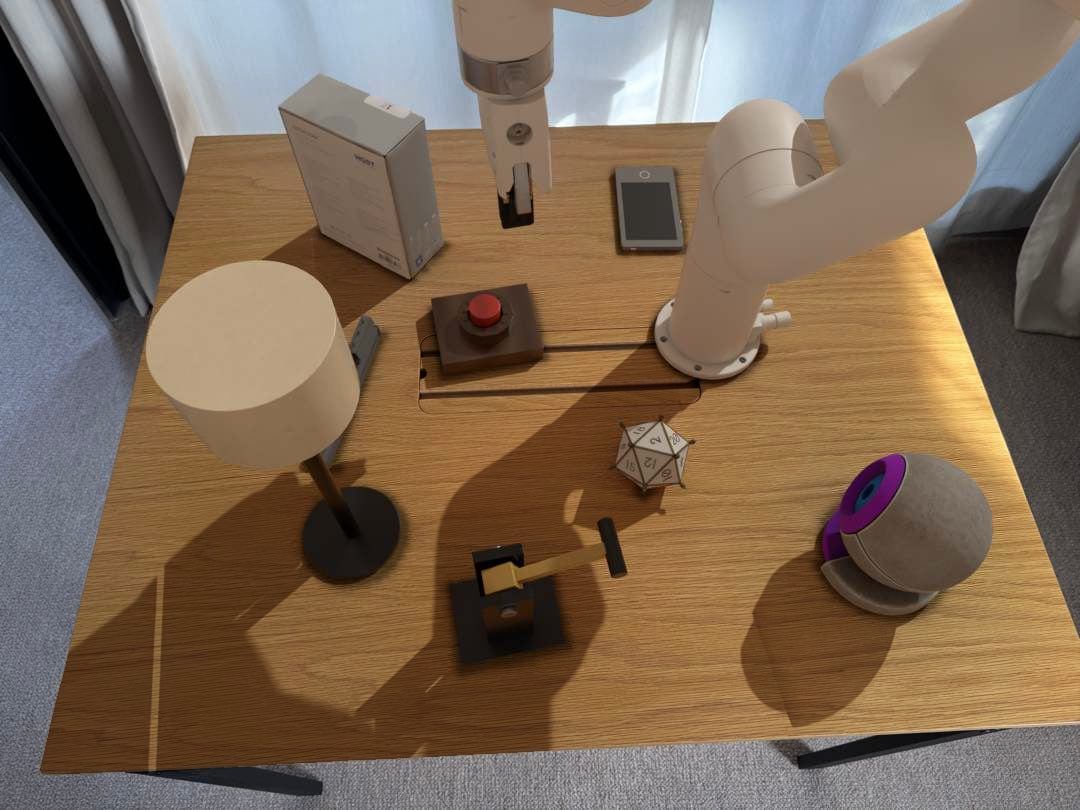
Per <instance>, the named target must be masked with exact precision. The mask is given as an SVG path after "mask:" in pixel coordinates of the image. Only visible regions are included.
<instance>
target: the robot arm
mask: <svg viewBox="0 0 1080 810" xmlns="http://www.w3.org/2000/svg"><path fill="white" fill-rule="evenodd" d="M652 2H653V0H451V7H452V16H453V25H454V33H455V39H456V40H455V42H456V48H457V57H458V66H459V73H460V78H461V80H462V82H463V84H464V86H465V87H466V88H468V90H469V91H471V92H472V93H474V94H476V97H477V106H478V113H479V120H480V126H481V130H482V136H483V140H484V145H485V150H486V154H487V158H488V162H489V165H490V169H491V172H492V175H493V179H494V183H495V186H496V195H497V204H498V216H499V219H500V223H501V228H502V229H503V230H509V229H515V228H522V227H528V226H532V225H534V223H535V210H534V207H535V206H534V192H533V185H534V187H535V188H536V189H537V191H538V193H539V194H540V195H543V194H549V193H550V192H551V190H552V189H553V174H552V159H551V156H552V155H551V139H550V125H549V114H548V104H547V98H546V97H547V96H546V91H545V87H546V86H548V84H549V83H550V82H551V80H552V78H553V76H554V73H555V72H554V71H555V67H554V66H555V64H554V63H555V50H554V49H555V48H554V47H555V46H554V45H555V43H554V42H555V41H554V40H555V38H554V9H557V10H563V11H567V12H572V13H577V14H581V15H587V16H592V17H599V18H600V17H602V18H603V17H604V18H617V17H619V18H620V17H626V16H630V15H631V14H635V13H637V12H639V11H641V10H643V9H645V8H646V7H647V6H648V5H650V4H651V3H652ZM1079 38H1080V0H962V1H961V2H959V3H958V4H956V5H954V6H953V7H951V8H949V9H947V10H945V11H943V12H942V13H940V14H938V15H936V16H935V17H932V18H931V19H928V20H927V21H925V22H923V23H921V24H920V25H917V26H915V27H914V28H912V29H910V30H909V31H907V32H905V33H903V34H901V35H898V36H897V37H895V38H894V39H891V40H890V41H888V42H887V43H885V44H883V45H880V46H879V47H877V48H875V49H874V50H872V51H869V52H868V53H867V54H865V55H863V56H861V57H859V58H858V59H856V60H854V61H853V62H851V63H849V64H848V65H847V66H845V67H844V68H842V69H841V70H840V71H839V72H838V73H837V74H836V75H835V76H834V77H833V78H832V79H831V81H830V82H829V83H828V85H827V87H826V90H825V92H824V96H823V104H822V108H823V117H824V121H825V125H826V126H825V127H826V130H827V133H828V138H829V140H830V143H831V147H832V151H833V154H834V157H835V160H836V163H837V167H836V168H835V169H833V170H831V171H830V172H827V173H826V174H824V169H823V166H822V163H821V160H820V156H819V153H818V150H817V147H816V142H815V141H814V138H813V135H812V133H811V130H810V128H809V127H808V125H807V122H806V121H805V120H804V118H803V117H802V115H801V114H800V113H799V112H798V111H797V110H796V109H795V108H794V107H792V106H791V105H790V104H788V103H785V102H783V101H781V100H778V99H773V98H755V99H750V100H748V101H747V100H746V101H745V102H742V103H740V104H739V105H736V106H735V107H733V108H732V109H730V110H729V111H728V112H726V114H724V115H723V117H722V118H721V119H720V120H719V121H718V122H717V123H716V125H715V126H714V128H713V130H712V131H711V133H710V136H709V137H708V139H707V142H706V145H705V149H704V152H703V156H702V157H703V158H702V163H701V171H700V180H699V187H698V196H697V197H698V198H697V204H696V210H695V211H696V212H695V214H694V220H693V224H692V228H691V233H690V235H689V239H688V244H687V249H686V252H685V256H684V260H683V264H682V268H681V272H680V276H679V279H678V285H677V288H676V292H675V296H674V297H673V298H672V299H671V300H670V301H668V302H666V304H665V305H664V306H663V307H662V308H661V310H660V311H659V312H658V314H657V318H656V321H655V325H654V333H653V334H654V341H655V345H656V347H657V350H658V351H659V353H660V355H661V356H662V357H663V359H664V360H665V361H666V362H667V363H668V364H669V365H670V366H672V367H673V368H674V369H676V370H678V371H680V372H681V373H682V374H685V375H687V376H690V377H693V378H696V379H701V380H710V381H711V380H712V381H713V380H714V381H715V380H723V379H727V378H732V377H734V376H736V375H738V374H740V373H743V371H745V370H746V369H747V368H748V367H749V366H750V365H751V364H752V362H753V361H754V359H755V357H756V356H757V354H758V351H759V349H760V344H761V335H762V334H766V333H767V330H768V331H769V330H773V329H774V330H778V329H782V328H783V329H784V328H789V327H791V325H792V315H791V313H790V312H789V310H784V311H778V312H772V313H771V314H764V313H763V312H767V311H772V310H773V309H774V302H773V299H772V298H766V296H767V294H768V292H769V289H770V286H771V285H778V284H785V283H788V282H789V283H790V282H792V281H796V280H800V279H802V278H805V277H808V276H810V275H813V274H816V273H818V272H821V271H823V270H826V269H828V268H830V267H833V266H835V265H839V264H841V263H843V262H845V261H847V260H850V259H852V258H855V257H858V256H860V255H862V254H864V253H867V252H869V251H872V250H874V249H876V248H879V247H881V246H884V245H886V244H889V243H891V242H893V241H896V240H898V239H901V238H903V237H906V236H909V235H910V234H912V233H914V232H916V231H918V230H920V229H923V228H925V227H927V226H928V225H931V224H932V223H934V222H936V221H937V220H938V219H940V218H942V217H943V216H944V215H946V214H947V213H948V212H949V211H951V209H952V208H954V207H955V206H956V205H957V204H958V203H959V202H960V201H961V200H962V199H963V198H964V196H965V195H966V194H967V192H968V191H969V189H970V188H971V186H972V184H973V182H974V179H975V176H976V172H977V168H978V155H977V149H976V148H977V147H976V145H975V141H974V139H973V137H972V134H971V132H970V129H969V127H968V125H967V122H968V121H970V120H971V119H973V118H974V117H976V116H978V115H980V114H982V113H984V112H986V111H988V110H990V109H992V108H994V107H995V106H998V105H1000V104H1002V103H1003V102H1005V101H1007V100H1009V99H1011V98H1013V97H1015V96H1016V95H1019V94H1021V93H1022V92H1024V91H1026V90H1028V89H1029V88H1030V87H1032V86H1033V85H1035V84H1037V83H1038V82H1039V81H1040V80H1042V79H1043V78H1044V77H1046V76H1047V75H1048V74H1049V73H1051V71H1053V69H1054V68H1055V67H1056V66H1057V65H1058V64H1059V63H1060V62H1061V61H1062V60H1063V59H1064V57H1066V55H1067V54H1068V52H1069V51H1070V50H1071V48H1073V46H1074V45H1075V43H1076V42H1077V41H1078V39H1079Z"/></svg>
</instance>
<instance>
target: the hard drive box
mask: <svg viewBox="0 0 1080 810" xmlns="http://www.w3.org/2000/svg"><path fill="white" fill-rule="evenodd" d="M277 108H278V109H277V110H278V112H279V115H280V117H281V121H282V124H283V127H284V129H285V132H286V135H287V138H288V141H289V144H290V147H291V151H292V154H293V155H294V158H295V161H296V164H297V168H298V170H299V173H300V176H301V179H302V182H303V186H304V187H305V191H306V194H307V196H308V200H309V202H310V206H311V208H312V211H313V214H314V218H315V219H316V223H317V226H318V228H319V231H320V233H321V234H323V235H325V236H327V237H328V238H330V239H331V240H333V241H335V242H337V243H339V244H341V245H342V246H344V247H347V248H349V249H351V250H352V251H355V252H357V253H358V254H360V255H362V256H363V257H366V258H368V259H369V260H372V261H373V262H375V263H377V264H379V265H381V266H382V267H384V268H386V269H387V270H389V271H391V272H394V273H395V274H397V275H399V276H402V277H403V278H405V279H407V280H411V279H413V278H414V277H415V276H416V275H417V274H418V273H419V272H420V271H421V270H422V269H423V268H424V267H425V265H426V264H427V263H428V262H429V261H430V260H431V259H432V258H433V257H434V256H435V255H436V254H437V253H438V252H439V251H440V249H441V248H442V247H443V246H444V245H445V242H444V235H443V229H442V223H441V217H440V216H441V215H440V210H439V204H438V203H439V202H438V198H437V197H438V196H437V191H436V184H435V179H434V172H433V166H432V159H431V152H430V146H429V140H428V133H427V126H426V117H424V116H423V115H419V114H417V113H415V112H413V111H411V110H408V109H406V108H403V107H402V106H399V105H397V104H394V103H392V102H389V101H388V100H386V99H383V98H380V97H378V96H376V95H374V94H371V93H369V92H366V91H364V90H362V89H359V88H357V87H355V86H352V85H350V84H348V83H345V82H343V81H340V80H338V79H336V78H334V77H331V76H329V75H328V74H327V75H326V74H325V73H322V72H319V73H318V74H316V75H315V76H314V77H313V78H311V79H310V80H309V81H308V82H306V83H305V84H304V85H302V87H300V88H299V89H298V90H297V91H295V92H294V93H292V94H291V95H290V96H289V97H288V98H286V99H285V100H284V101H283V102H281V103H280V104H279V105H278V106H277Z"/></svg>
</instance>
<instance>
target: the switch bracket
mask: <svg viewBox="0 0 1080 810" xmlns="http://www.w3.org/2000/svg"><path fill="white" fill-rule="evenodd" d="M471 556H472V557H471V558H472V563H473V568H474V572H475V577H476V578H475V579H469V580H465V581H459V582H454V583H450V584H449V590H450V595H451V596H450V597H451V602H452V609H453V615H454V623H455V628H456V634H457V641H458V647H459V655H460V661H461V665H462V666H467V665H474V664H477V663H478V664H479V663H482V662H487V661H491V660H496V659H501V658H506V657H511V656H516V655H519V654H524V653H529V652H534V651H539V650H543V649H549V648H552V647H557V646H561V645H566V641H565V640H566V638H565V635H564V630H563V626H562V622H561V618H560V613H559V608H558V603H557V599H556V595H555V591H554V585H553V581H552V577H551V576H552V575H548V576H545V577H542V578H538V579H535V580H532V581H529V582H526V583H523V588H522V589H518V590H513V591H508V592H503V593H498V594H493V595H488V596H486V595H485V590H484V584H483V578H482V573H481V571H482V570H486V569H489V568H492V567H495V566H498V565H502V564H505V563H508V562H512V563H513V564H514V565H516V566H517V567H518V568H521V567H525V551H524V547H523V543H522V542H517V543H511V544H506V545H503V546H502V545H497V546H494V547H493V546H492V547H491V548H486V549H482V550H477V551H472V552H471Z"/></svg>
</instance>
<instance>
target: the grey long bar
mask: <svg viewBox="0 0 1080 810" xmlns="http://www.w3.org/2000/svg"><path fill="white" fill-rule="evenodd" d="M381 337H382V333H381V330H380V327H379V325H377V324H376V323H375V321H374V320H373V318H372V317H371V316H368V315H362V314H361V316H360V318H359V320H358V323H357V326H356V328H355V331H354V333H353V335H352V338H351V340H350V342H349V344H348V346H349V349H350V352H351V355H352V357H353V360H354V363H355V366H356V369H357V371H358V375H359V380H360V388H361V387H362V384H363V382H364V380H365V377H366V374H367V372H368V369H369V366H370V364H371V361H372V359H373V356H374V354H375V351H376V349H377V346H378V343H379V341H380V338H381ZM343 434H344V431H343V432H342V434H341V435H340V436H339V437H338V438H337V439H336V440H335V441H334V442H333V443H332V444H330V445H329V446H328V447H327V448H325V449H324V450H323V451H321V452H320V453H321V455H322V457H323V459H324V461H325V463H326V465H327V467H329V465H330V464H332V462H333V460H334V457H335V455H336V452H337V449H338V447H339V444H340V442H341V439H342V436H343Z"/></svg>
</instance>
